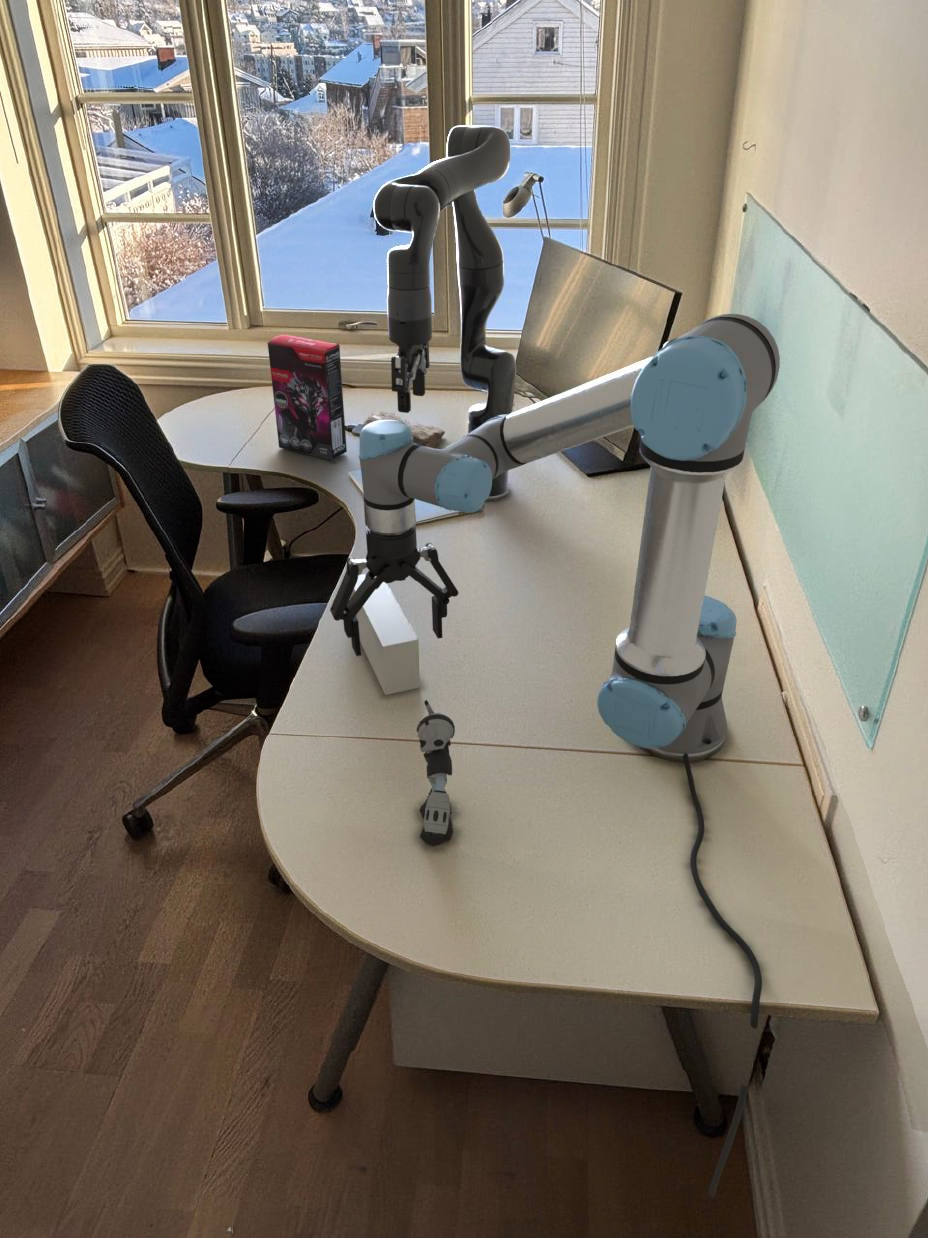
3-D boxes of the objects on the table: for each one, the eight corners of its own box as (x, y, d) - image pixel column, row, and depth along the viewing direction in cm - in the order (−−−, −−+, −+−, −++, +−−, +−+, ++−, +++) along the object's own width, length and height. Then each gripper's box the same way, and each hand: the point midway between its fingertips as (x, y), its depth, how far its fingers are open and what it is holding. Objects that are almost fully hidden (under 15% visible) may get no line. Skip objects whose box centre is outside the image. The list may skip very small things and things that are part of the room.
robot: (457, 879, 118) (458, 763, 107) (419, 880, 118) (416, 764, 107) (451, 772, 135) (451, 662, 123) (418, 773, 134) (415, 663, 123)
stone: (346, 435, 230) (351, 411, 228) (368, 426, 244) (372, 404, 241) (425, 459, 227) (430, 436, 224) (442, 449, 240) (447, 427, 238)
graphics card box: (276, 448, 231) (264, 340, 216) (293, 439, 236) (282, 332, 221) (333, 462, 225) (324, 351, 209) (349, 452, 230) (341, 343, 214)
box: (419, 687, 152) (418, 639, 146) (385, 695, 150) (382, 646, 144) (382, 616, 169) (380, 571, 163) (351, 622, 167) (347, 576, 162)
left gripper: (402, 299, 164) (404, 388, 173) (374, 321, 153) (378, 415, 162) (442, 303, 162) (442, 392, 171) (417, 325, 151) (419, 419, 160)
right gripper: (460, 500, 143) (462, 615, 155) (302, 528, 136) (316, 646, 148) (478, 521, 137) (478, 638, 149) (313, 551, 130) (327, 672, 142)
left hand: (411, 403), depth 167 cm, fingers open, 8 cm apart
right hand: (397, 642), depth 149 cm, fingers open, 13 cm apart
